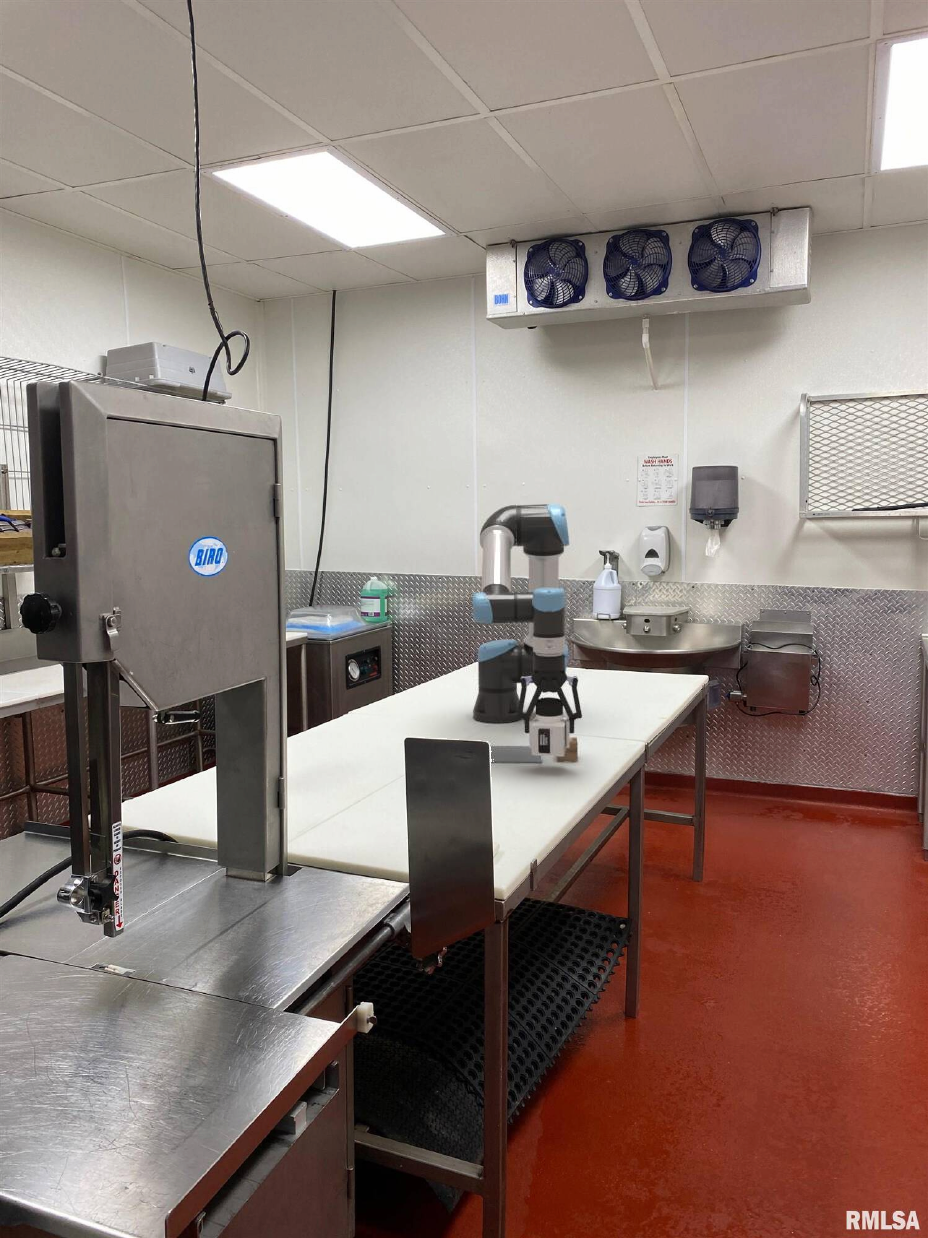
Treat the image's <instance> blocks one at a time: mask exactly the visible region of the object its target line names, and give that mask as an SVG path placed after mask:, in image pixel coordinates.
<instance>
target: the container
mask: <svg viewBox="0 0 928 1238" xmlns="http://www.w3.org/2000/svg"><path fill="white" fill-rule="evenodd" d="M566 719H568V717H565V716H564V707H563V704H562V702H561V700H560V698H557V697H554V696H553V697H552V696H545V697H541V698H540V697H539V699H538V701H537V703H536V706H535V717H534V719H533V723H532V755H538V756H541V757H542V756H543V757H544V756H545V757H557V756H562V757H563V756H564V754H565V751H566Z"/></svg>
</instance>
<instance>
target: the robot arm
mask: <svg viewBox="0 0 928 1238" xmlns="http://www.w3.org/2000/svg"><path fill="white" fill-rule="evenodd" d="M567 521H568V520H567V514H566V510H565V508H564V507H563V506H562V505H560V504H549V503H546V504H543V503H541V504H523V505H522V504H521V505H520V504H518V505H517V504H511V505H507V506H506V505H505V506H503V507H501V508H500V509H498V510H496V511H494V512H493V513H492V514H491V515H490V516H489V517H488V518H487V519H486V520H485V522H484V523H483V525H482V526H481V529H480V532H479V544H480V547H481V548H482V565H481V567H482V569H481V571H482V572H481V589H480V590H481V592H475V593H474V594H473V596H472V618H473V621H474V622H476V623H481V624H482V623H483V624H489V625H490V624H511V623H514V624H515V623H521V624H522V623H526V624H528V634H527V635H526V636H525V637H524V639H523V644H518V641H517V640H516V639H512V638H510V639H507V638H506V639H505V638H504V639H497V640H492V641H488V642H485V643H483V644H481V645H480V646H479V647H478V649H477V662H478V665H477V666H478V675H477V677H478V679H477V680H478V693H477V696H476V700H475V703H474V706H473V709H472V718H473V719H474V720H476V721H478V722H481V723H489V724H490V723H493V724H496V723H497V724H501V723H502V724H503V723H513V722H516V721H517V722H518V721H520V720H523V722H524V733H525V734H529V739H528V740H529V746H530V748H532V723H533V721H534V719H533V717H532V714H533V712H534V709H536V703H537V701H538V699H540V697H541V695H542V693H544V694H546V693H552V694H554V693H555V694H557V696H558V697H559V698H558V699H560V700H561V702H562V704H563V710H564V711H565V713H566V715H567V719H566V748H570V734H572V735H573V734H575V721H576V720H578V719H582V718H583V714H582V709H581V703H580V698H579V694H578V684H579V683H578V682H579V678H578V676H576V675H573V676H570V675H567V673H566V672H567V666H568V654H569V647H568V645H567V644H566V642H565V641H566V634H565V633H566V632H565V629H566V628H565V626H566V624H565V623H566V618H565V617H566V600H565V599H566V598H565V590H564V589H563V588H559V565H560V563H559V560H560V559H559V558H560V557H561V556H562V555H563V554H564V553H565V547H568V546H570V536H569V529H568V527H569V526H568V522H567ZM513 547H522V549H523V550H522V551H523V552H522V553H523V554H524V555H525V556H527V558H528V591H527V592H525V591H523V592H522V591H520V592H518V591H517V592H514V591H513V592H512V574H511V573H512V568H511V567H512V559H511V557H512V556H511V555H512V553H511V552H512V551H511V550H512V549H513ZM566 681H567V682H568V685H569V686H570V687H571V692H572V697H573V702H574V703H573V704H574V709H575V712H573V710H572V708H571V706H570V704H569V702H568V699H567V697H566V695H565V693H564V691H563V688H562V687H563V685H565V683H566ZM518 684H520V685H521V686H520V688H521V689H520V694H518ZM530 684H534V685H535V687H536V688H535V692H534V694H533V695H532V698H531V700H530V702H529V705H528V706H527V709H526V711H525V712H524V707H525V701H526V700H525V699H526V695H527V688H528V687H529V686H530ZM531 717H532V718H531Z"/></svg>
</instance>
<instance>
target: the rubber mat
mask: <svg viewBox="0 0 928 1238" xmlns="http://www.w3.org/2000/svg"><path fill="white" fill-rule="evenodd" d="M490 746H491V751H492V752H491V759H492V763H491V764H499V763H498V762H501V763H500V764H542V756H538V755H532V748H530V745H490ZM493 759H494V760H493ZM493 761H494V763H493ZM496 762H497V763H496Z"/></svg>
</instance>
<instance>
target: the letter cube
mask: <svg viewBox="0 0 928 1238" xmlns="http://www.w3.org/2000/svg"><path fill="white" fill-rule="evenodd" d="M578 745H579V744H578V738H577V737H576V736H574V737H573V736H571V737H570V748H566V751H565V754H564V756H563V757H562V756H556V761H557V763H559V762H560V763H561V761H562V763H565V762H564V761H578V759H579V757H578V750H579V749H578V747H579V746H578Z"/></svg>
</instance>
